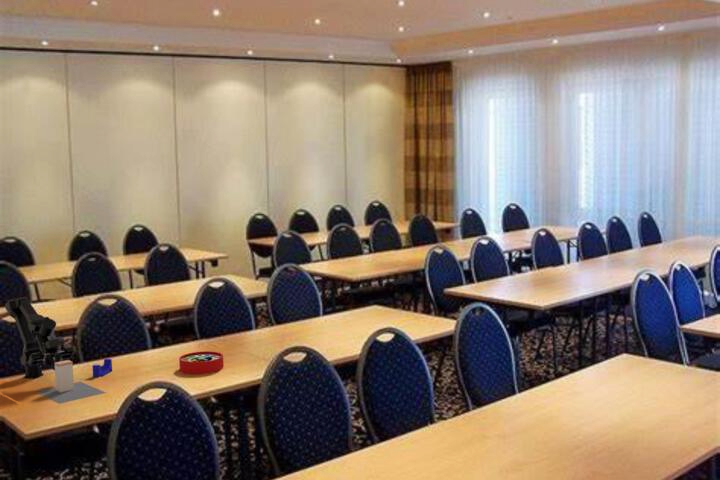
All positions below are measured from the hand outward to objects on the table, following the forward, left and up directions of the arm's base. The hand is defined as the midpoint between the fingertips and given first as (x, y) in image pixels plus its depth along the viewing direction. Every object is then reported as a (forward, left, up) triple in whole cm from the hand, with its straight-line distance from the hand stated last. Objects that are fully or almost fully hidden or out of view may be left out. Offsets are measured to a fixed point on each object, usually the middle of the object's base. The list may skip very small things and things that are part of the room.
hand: (58, 371), depth 349 cm
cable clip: (+5, +23, -8) cm, 25 cm away
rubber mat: (+9, -6, -7) cm, 13 cm away
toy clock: (+46, +42, -8) cm, 63 cm away
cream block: (+5, -3, -7) cm, 9 cm away
